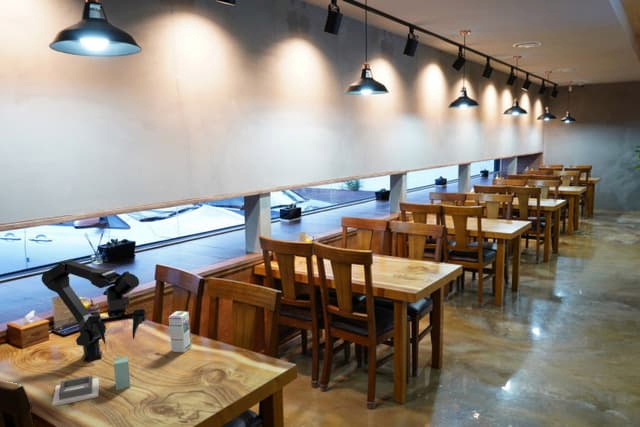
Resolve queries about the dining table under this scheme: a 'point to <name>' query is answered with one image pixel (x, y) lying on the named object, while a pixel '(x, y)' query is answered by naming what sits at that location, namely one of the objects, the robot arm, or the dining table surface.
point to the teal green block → (121, 373)
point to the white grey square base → (76, 390)
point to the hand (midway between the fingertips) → (119, 340)
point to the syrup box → (180, 331)
